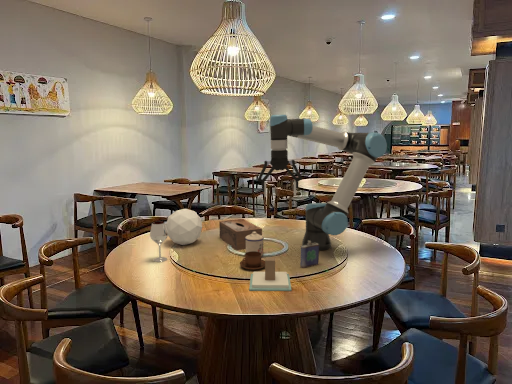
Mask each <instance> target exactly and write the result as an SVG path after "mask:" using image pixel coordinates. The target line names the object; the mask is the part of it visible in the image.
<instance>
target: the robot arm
mask: <svg viewBox="0 0 512 384" xmlns="http://www.w3.org/2000/svg"><path fill="white" fill-rule="evenodd" d="M269 119H270V121H269V129H270V149H271V151H270V160H264V161H263V162H264V163H263V167H262V169H261V171H260V174H259V175H258V178H257V181H258V182H260V183H261V190H264V195H263V196H264V198H267V182H266V180H267V179H268V178H269V177H270V176H271V174H273V172H274V171H284V170H285V171H287V173H288V174H289V175H290V176H291V177H292V179H294V181H293V196H294V197H296V196H297V189H299V181H302V180H303V176H302V175H301V173H300V171H299V170H298V167H297V165H296V160H294V159H291V160H289V157H288V155H289V152H288V150H287V149H288V137H291V138H292V137H293V138H298V139H301V140H305V141H309V142H314V143H318V144H323V145H326V146H331V147H336V148H337V149H338V150H339V151H343V152H346V153H350V154H352V157H353V158H352V160H351V162H350V164H349V166H348V168H347V170H346V172H345V173H344V174H343V178H342V179H341V181H340V183H339V185H338V187H337V189H336V191H335V193H334V195H333V197H332V198H331V200H330V201H326V202H314V203H307V204H306V206H305V231H304V235H303V239H302V242H301V246H304V245H308V244H307V243H308V242H307V241H308V240H310V241H311V243H318V244H319V251H327V250H329V249H331V248H332V241H331V238H330V236H338V235H342V234H343V232H345V230H346V229H347V227H348V224H349V221H348V220H349V219H348V216H349V210H348V208H349V207H350V205H351V202H352V201H353V199H354V196H355V195H356V193H357V191H358V189H359V187H360V185H361V183H362V181H363V180H364V177H365V175H366V173H367V172H368V170H369V168H370V166H372V165H374V164H375V163H376V161H377V160H378V158H380V157H383V156H384V155H385V153H386V152H387V148H388V143H387V140H386V138H385V136H384V135H382V134H381V133H379V132H372V131H371V132H348V131H342V132H339V131H335V130H332V129H327V128H323V127H320V126H319V127H318V126H315V125H314V124H313V122H312V120H311V119H310V118H304V117H303V118H288V115H287V114H272V115H270V118H269ZM289 164H290V165H291V166H292V168H293V170H294V172H295V173H296V174H294V173H293V171H292V170H290V169H289V168H288V165H289ZM269 165H270V166H271V168H270V169H269V170H268V171H267V173H266V174H265V175H264V173H265V172H266V169H267V167H268V166H269ZM263 176H264V177H263Z"/></svg>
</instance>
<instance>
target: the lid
mask: <svg viewBox="0 0 512 384" xmlns="http://www.w3.org/2000/svg"><path fill="white" fill-rule="evenodd" d="M264 261H265V267H264V271H253V272H252V274H253V280H252V288H289V284H288V277H287V274H288V272H287V271H276V257H275V256H274V257H271V256H270V257H269V256H267V257H264Z"/></svg>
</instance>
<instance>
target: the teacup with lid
mask: <svg viewBox="0 0 512 384" xmlns="http://www.w3.org/2000/svg"><path fill="white" fill-rule="evenodd" d="M245 239H246V249H245V253H247V252H251V251H256V252H260V253H261V257H263V255H264V235H263V234H262V235H259V234H256V232H252V234H250V235H248V236H246V237H245Z"/></svg>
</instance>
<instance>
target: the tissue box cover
mask: <svg viewBox="0 0 512 384" xmlns="http://www.w3.org/2000/svg"><path fill="white" fill-rule="evenodd" d="M218 222H219V239H221V240H222V241H223V242H225V243H227V244H228V245H229V246H230V247H232V248H234V249H235V250H236V251H241V250H246V239H245V237H246V236H248V235H250V234H252V232H256V234H259V235H262V236H263V228H262V227H260V226H258V225H256V224H254V223H252V222H250V221H249V220H246V219H244V218H237V219H227V220H220V221H218Z"/></svg>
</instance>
